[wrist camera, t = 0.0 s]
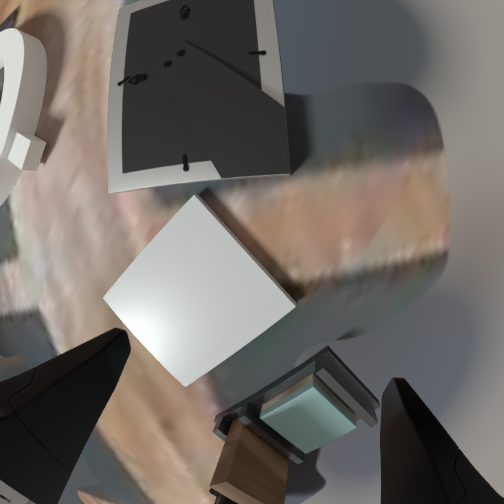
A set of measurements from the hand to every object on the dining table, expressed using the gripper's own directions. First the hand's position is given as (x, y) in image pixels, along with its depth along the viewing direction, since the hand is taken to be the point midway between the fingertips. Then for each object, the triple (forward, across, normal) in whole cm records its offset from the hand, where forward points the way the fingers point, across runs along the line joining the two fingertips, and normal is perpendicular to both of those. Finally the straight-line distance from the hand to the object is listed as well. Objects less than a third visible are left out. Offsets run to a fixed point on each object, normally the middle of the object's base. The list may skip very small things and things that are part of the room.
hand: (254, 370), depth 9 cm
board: (+14, +8, +8) cm, 18 cm away
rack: (+11, -4, +19) cm, 22 cm away
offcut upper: (+10, -5, +17) cm, 20 cm away
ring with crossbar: (+19, +44, -10) cm, 49 cm away
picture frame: (+20, +10, -11) cm, 25 cm away
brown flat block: (+9, -1, +22) cm, 24 cm away
